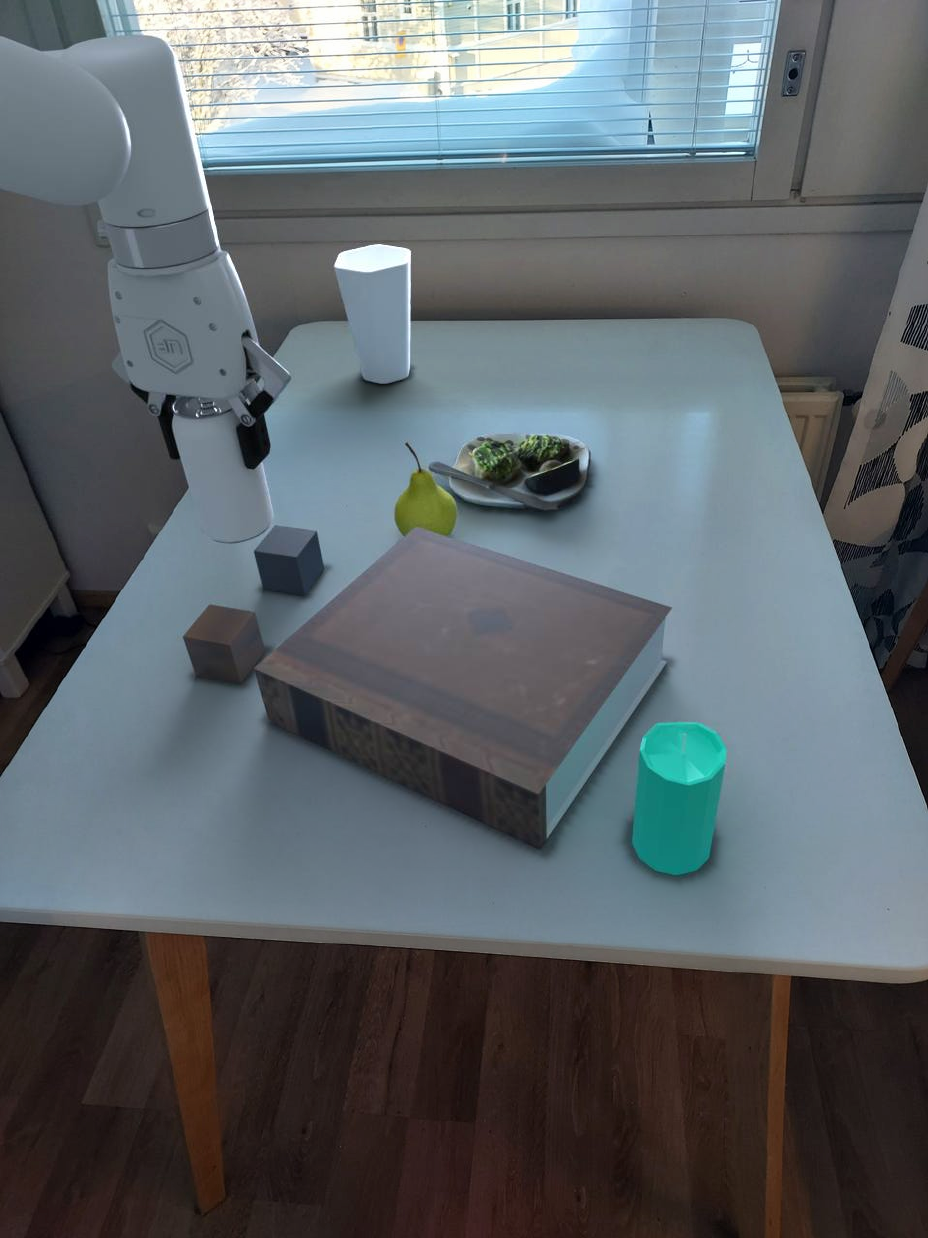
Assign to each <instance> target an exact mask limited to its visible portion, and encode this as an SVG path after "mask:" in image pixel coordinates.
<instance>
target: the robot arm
mask: <svg viewBox="0 0 928 1238" xmlns="http://www.w3.org/2000/svg"><path fill="white" fill-rule="evenodd" d="M188 101H189V100H188V97H187V92H186V87H185V83H184V79H183V74H182V70H181V67H180V64H179V60H178V58H177V55H176V53H175V51H174V49H173V48H172V46H171V45H170V44H169V43H168V42H166V41H165V40H164V39H162V38H161V37H158V36H154V35H149V34H148V35H147V34H121V35H111V36H105V37H98V38H92V39H89V40H88V39H87V40H85V41H81V42H78V43H74V44H73V45H71V46H69V47H67V48H63V49H57V50H56V49H55V50H39V49H36V48H34V47H31V46H28V45H26V44H23V43H21V42H17V41H15V40H13V39H10V38H7V37H5V36H1V35H0V190H4V191H7V192H11V193H14V194H18V195H23V196H26V197H29V198H33V199H38V200H39V201H44V202H48V203H51V204H55V205H59V206H65V207H80V206H81V207H82V206H87V205H91V204H94V203H97V205H98V208H99V211H100V214H101V218H100V219H98V221H97V222H96V231H97V234H98V236H99V237H100V238H102V239H108V242H109V244H110V245H109V246H110V248H111V251H112V256H113V258H112V259H110V260H109V261H108V262H107V281H108V282H107V283H108V291H109V292H108V294H109V301H110V302H109V303H110V309H111V313H112V318H113V324H114V329H115V332H116V333H115V334H116V337H117V342H118V344H119V345H118V346H119V352H118V353H117V354H116V356H115V357H114V359H113V360H112V361H111V363H110V367H111V369H112V370H113V372H114V373H115V374H116V375H117V376H119V378H121V379H122V380H123V381H124V382H125V383H126V384H127V385H129V387H130V389H131V391H132V392H133V393H134V394H135V395H136V396H137V397H138V398H139V399H140V400H142V401H143V403H144V402H145V404H146V406H147V411H148V412H149V414H150V415H151V416H154V417H157V420H158V423H159V426H160V430H161V433H162V436H163V440H164V442H165V445H166V449H167V453H168V456H169V458H170V460H172V461H173V460H175V461H179V460H181V458H180V455H179V451H178V448H177V444H176V441H175V437H174V433H173V429H172V420H173V416H174V412H173V411H172V405H173V403H174V401H175V400H176V399H177V398H179V397H180V396H186V397H195V398H206V399H217V400H227V401H228V403H229V404H230V406H231V407H232V409H233V410H234V412H235V413H236V415H237V416H238V418H239V420H240V421H241V423H240V424H239V425H238V426H237V427H236V432H237V436H238V440H239V444H240V448H241V452H242V456H243V460H244V465H245V467H246V468H247V469H252V470H254V469H255V468H256V467H257V466H258V465H259V464H260V463H261V462H262V463H263V461H264V460H265V459H267V457H268V456H269V455H270V452H271V447H272V446H271V445H272V443H271V440H270V435H269V430H268V426H267V421H266V417H265V413H267V411H268V410H270V408H271V406H273V404H274V403H275V402H276V401H277V399H279V397H280V396H281V393H282V392H283V391H284V390H285V389H286V387H287V386H288V385H289V383H290V382H291V380H292V376H291V373H289V371H287V370H286V369H285V368H284V367H283V366H282V365H281V364H280V363H278V362H277V361H276V359H274V358H273V357H272V356H271V355H270V354H269V353H268V352H266V350H264V349H263V348H262V347H261V346H260V341H259V339H258V338H259V337H258V334H257V330H256V327H255V322H254V320H253V316H252V312H251V308H250V306H249V302H248V300H247V296H246V294H245V291H244V288H243V285H242V282H241V280H240V277H239V274H238V272H237V270H236V268H235V265H234V263H233V260H232V259H231V257H230V254H229V252H228V251H226V250H222V249H221V245H220V239H219V236H218V231H217V226H216V222H215V217H214V213H213V207H212V204H211V200H210V196H209V191H208V186H207V182H206V177H205V173H204V169H203V165H202V160H201V155H200V150H199V145H198V141H197V137H196V132H195V128H194V123H193V120H192V119H193V118H192V114H191V110H190V105H189V102H188ZM257 377H260V378H261V379H262V380H263V382H264V385H263V387H262V389H261V388H260V387H259V385H258V384H257V382H256V381H255V378H257ZM242 392H243V393H242ZM243 394H244V395H243ZM244 396H245V397H246V398H245V397H244ZM246 399H247V400H248V401H247V400H246ZM248 402H249V403H248Z"/></svg>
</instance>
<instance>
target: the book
mask: <svg viewBox="0 0 928 1238" xmlns="http://www.w3.org/2000/svg"><path fill="white" fill-rule="evenodd" d="M672 609H673V607H672V606H668V605H666V604H662V603H660V602H656V601H653V600H650V599H647V598H644V597H641V596H637V595H634V594H631V593H628V592H624V591H621V590H618V589H615V588H611V587H608V586H605V585H603V584H599V583H596V582H593V581H590V580H586V579H583V578H580V577H577V576H574V575H570V574H568V573H564V572H562V571H558V570H554V569H551V568H548V567H545V566H542V565H540V564H539V565H538V564H535V563H532V562H529V561H527V560H523V559H520V558H517V557H512V556H511V555H508V554H505V553H500V552H497V551H494V550H491V549H488V548H485V547H482V546H478V545H475V544H472V543H469V542H466V541H463V540H459V539H456V538H454V537H450V536H448V537H447V536H444V535H441V534H438V533H434V532H431V531H428V530H425V529H422V528H419V527H415V528H413V529H412V530H411V531H410V532H409V533H408V534H407V535H405V536H403V537H402V538H401V539H399V540H398V541H397V542H396V543H395V544H394V545H392V546H391V548H389V549H388V550H387V551H386V552H385V553H384V554H382V556H380V557H379V558H378V559H377V560H376V561H374V563H372V564H371V565H370V566H369V567H367V569H365V570H364V571H363V572H362V573H360V574H359V575H358V576H357V577H356V578H355V579H354V580H353V581H352V582H350V583H349V584H348V585H347V586H346V587H345V588H343V589H342V590H341V591H340V592H339V593H338V594H337V595H336V596H334V597H333V598H332V599H331V600H330V601H329V602H328V603H326V604H325V605H324V606H323V607H322V608H321V609H319V610H318V611H317V613H315V614H314V615H313V616H312V617H311V618H309V619H308V620H307V621H306V622H305V623H304V624H302V625H301V626H300V627H299V628H298V629H297V630H295V631H294V632H293V633H292V634H291V635H289V637H287V638H286V640H284V641H283V642H282V643H281V644H279V645H278V646H277V647H276V648H275V649H274V650H272V652H271V653H270V654H268V655H267V656H266V657H265V658H264V659H262V660H261V661H260V662H259V663H257V664H256V665H255V666H254V667H253V671H254V674H255V679H256V681H257V685H258V689H259V692H260V696H261V699H262V703H263V707H264V709H265V713H266V714H265V715H266V716H267V720H268V722H269V723H271V724H272V725H275V726H277V727H280V728H282V729H284V730H286V731H288V732H290V733H292V734H295V735H297V736H298V737H301V738H302V739H304V740H306V741H309V742H311V743H313V744H315V745H318V746H319V747H322V748H324V749H326V750H328V751H330V752H332V753H334V754H337V755H339V756H341V757H343V758H344V759H347V760H349V761H352V762H353V763H355V764H358V765H360V766H362V767H364V768H366V769H368V770H370V771H373V772H374V773H376V774H379V775H381V776H383V777H385V778H387V779H389V780H391V781H394V782H396V783H398V784H400V785H402V786H404V787H406V788H408V789H410V790H412V791H415V792H417V793H419V794H421V795H423V796H426V797H428V798H429V799H432V800H434V801H435V802H438V803H440V804H442V805H445V806H446V807H448V808H451V809H452V810H454V811H457V812H459V813H462V814H463V815H465V816H468V817H470V818H472V819H474V820H476V821H479V822H480V823H482V824H484V825H487V826H488V827H491V828H493V829H495V830H497V831H499V832H501V833H504V834H506V835H507V836H510V837H512V838H514V839H516V840H518V841H520V842H522V843H525V844H526V845H529V846H531V847H533V848H536V849H537V850H541V848H542V847H543V845H544V844H545V842H546V841H547V840H548V839H549V836H550V835H551V834H552V832H553V831H554V830H555V828H556V826H557V825H558V824H559V822H560V820H561V819H562V817H563V816H564V814H565V813H566V812H567V810H568V809H569V807H570V806H571V804H572V803H573V801H574V800H575V798H576V797H577V795H578V794H579V793H580V791H581V790H582V788H583V786H584V785H585V784H586V782H587V781H588V779H589V778H590V776H591V775H592V773H593V772H594V770H595V769H596V767H597V766H598V764H599V763H600V761H601V760H602V759H603V757H604V755H605V754H606V753H607V752H608V750H609V748H610V747H611V745H612V744H613V742H614V741H615V740H616V738H617V737H618V735H619V734H620V732H621V730H622V729H623V727H624V726H625V725H626V723H627V722H628V720H629V719H630V718H631V716H632V715H633V713H634V712H635V710H636V708H637V707H638V705H639V704H640V702H642V700H643V698H644V697H645V695H646V694H647V693H648V691H649V690H650V688H651V686H652V685H653V684H654V682H655V680H656V679H657V677H658V676H659V675H660V673H661V671H662V670H663V669H664V667H665V666H666V665H667V663H668V662H667V661H665V660H662V659H663V648H664V637H665V627H666V618H667V616H668V614H669V613H670V612H671V611H672Z"/></svg>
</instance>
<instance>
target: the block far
mask: <svg viewBox="0 0 928 1238" xmlns="http://www.w3.org/2000/svg"><path fill="white" fill-rule="evenodd" d="M320 544H321V543H320V540H319V535H318V531H317V530H315V529H306V528H299V527H293V526H292V527H291V526H285V525H277V524H275V525H274V526H273V527H272V528H271V529H270V530H269V532H268V533H267V535H266V536H265V537H264V538H263V539H262V540H261V542H260V543H259V544H258V545H257V547H256V548H255V549H254V550H253V554H254V559H255V562H256V566H257V570H258V574H259V579H260V583H261V586H262V589H263V590H268V591H273V592H281V593H287V594H293V595H300V596H306V594H307V593H308V592H309V590H310V589H311V587H312V586H313V585H314V583H316V581H317V580H318V578H319V576H320V575H321V574H322V572H323V571H324V569H325V565H324V562H323V561H324V560H323V554H322V551H321V545H320Z"/></svg>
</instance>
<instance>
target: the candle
mask: <svg viewBox="0 0 928 1238" xmlns="http://www.w3.org/2000/svg"><path fill="white" fill-rule="evenodd" d="M638 753H639V754H638V763H637V764H638V766H637V777H636V791H635V800H634V801H635V802H634V812H633V813H634V815H633V824H632V825H633V827H632V839H631V844H632V845H633V848H634V850H635V852H636V854H637V857H638V860H640V861H641V862H643V863H644V864H646V865H647V866H648V867H649V868H651V869H653V870H654V871H655V872H659V873H662V874H663V873H664V874H667V875H668V874H669V875H672V876H680V875H684V874H688V873H692V872H697V871H698V870H699V869H700V868H701V867H702V866H703V865H704V864H705V863H707V861H708V860H709V859H710V855H711V849H712V844H713V838H714V832H715V827H716V821H717V820H716V819H717V814H718V809H719V802H720V797H721V791H722V785H723V779H724V773H725V767H726V759H727V753H728V748H727V747H726V744H725V743H724V742H723V740H722V738H721V735H720V734H719V732H718V731H715V730H714V729H713V728H710V727H709V726H706V725H705V724H703V723H701V722H697V721H695V722H693V721H673V722H672V721H671V722H656V723H655V724H654V725H653V726H652V728H650V729H649V730H648V732H646V733H645V734H644V735H643V736H642V739H641V743H640V748H639V752H638Z"/></svg>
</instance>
